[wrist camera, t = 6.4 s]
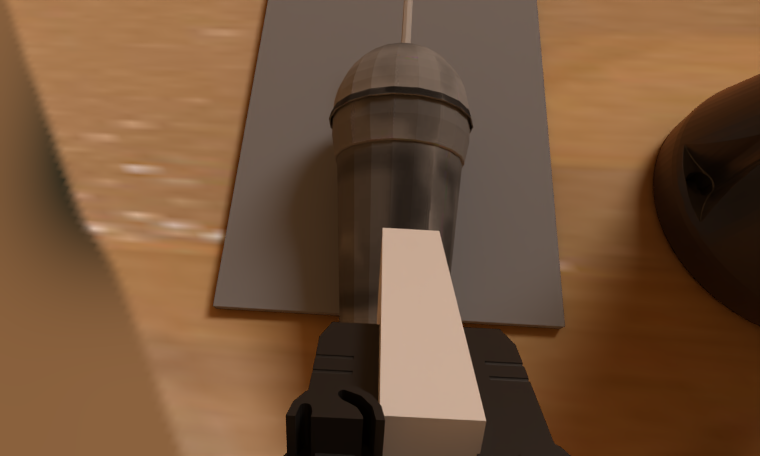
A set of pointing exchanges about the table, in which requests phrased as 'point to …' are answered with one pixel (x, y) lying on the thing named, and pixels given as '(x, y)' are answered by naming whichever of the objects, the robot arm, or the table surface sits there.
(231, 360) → the table surface
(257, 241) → the rubber mat
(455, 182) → the beverage cup
